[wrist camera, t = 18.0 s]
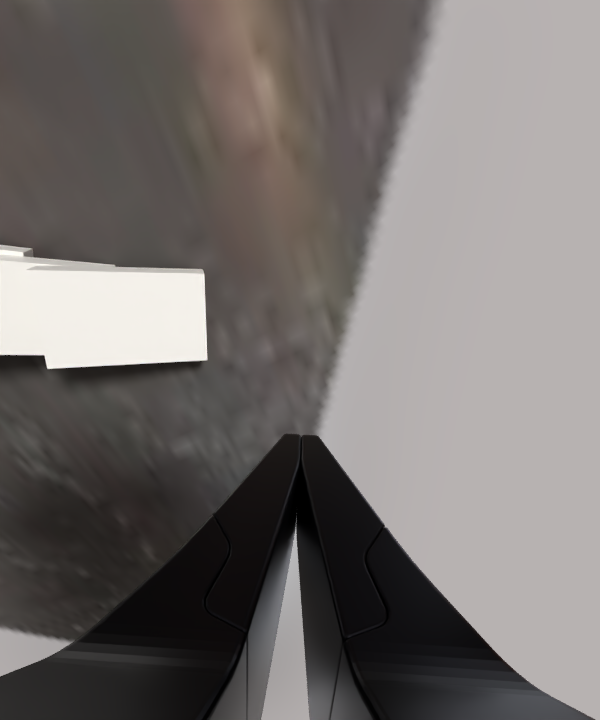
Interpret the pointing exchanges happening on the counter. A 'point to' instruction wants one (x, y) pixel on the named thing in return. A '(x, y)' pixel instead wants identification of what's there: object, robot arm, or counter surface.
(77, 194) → the counter surface
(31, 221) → the counter surface
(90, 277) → the domino
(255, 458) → the counter surface
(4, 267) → the domino
